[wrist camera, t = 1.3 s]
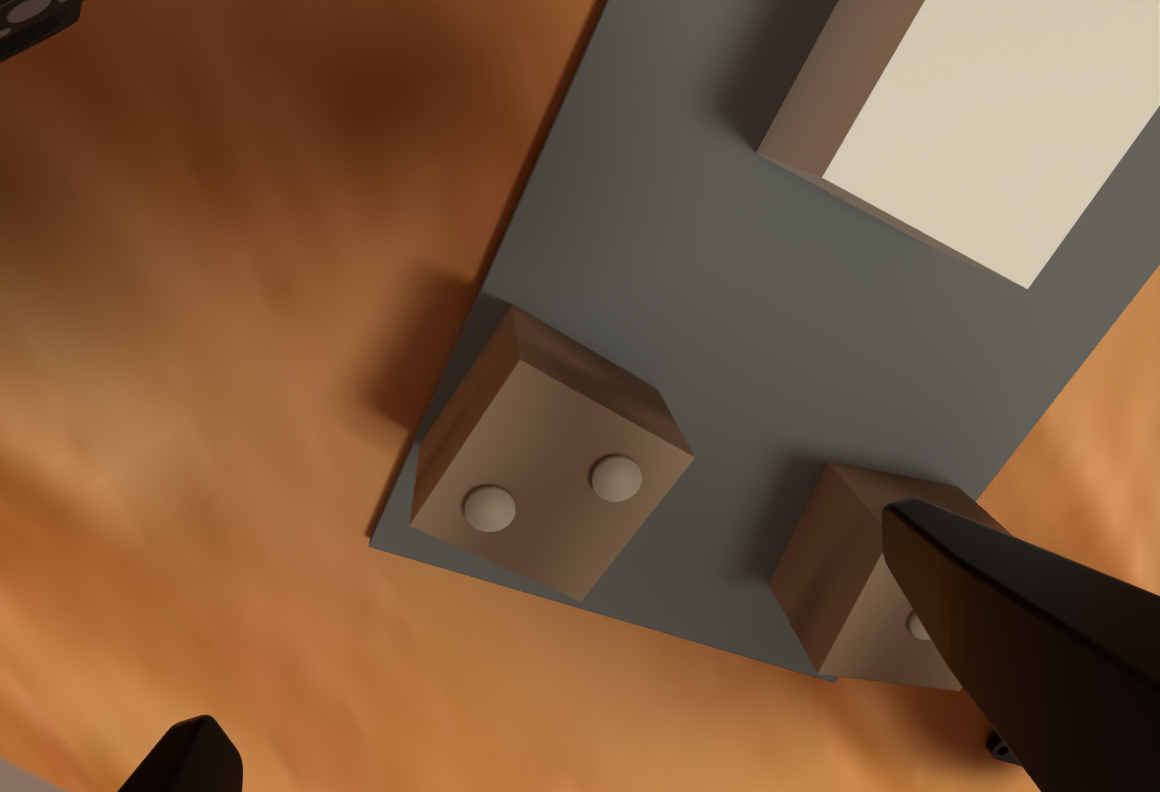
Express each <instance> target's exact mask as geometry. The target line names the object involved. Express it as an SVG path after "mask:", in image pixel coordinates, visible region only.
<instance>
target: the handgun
mask: <svg viewBox="0 0 1160 792" xmlns="http://www.w3.org/2000/svg"><path fill="white" fill-rule="evenodd" d="M82 1H83V0H0V62H2V61H4V60H6V59H8V58H10V57H12V56H14V55H16V54H18V53H20V52H22V51H24V50H26V49H28V48H30V47H32V46H34V45H36V44H38V43H40V42H42V41H44V40H46V39H47V38H49V37H51V36H53V35H55V34H57V33H59V32H61V31H62V30H64V29H65V28H67V27H68V26H70V25H72V24H73V23H75V22H76V21H78V18H79V16H80V9H81V5H82Z"/></svg>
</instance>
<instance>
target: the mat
mask: <svg viewBox="0 0 1160 792" xmlns="http://www.w3.org/2000/svg"><path fill="white" fill-rule="evenodd" d="M837 2H838V0H606V2H605V4H604V7H603V9H602V11H601V13H600V16H599V18H598V20H597V23H596V25H595V27H594V29H593V32H592V34H591V36H590V39H589V41H588V43H587V45H586V48H585V50H584V52H583V55H582V57H581V59H580V61H579V64H578V66H577V68H576V71H575V73H574V75H573V77H572V80H571V82H570V84H569V86H568V89H567V91H566V93H565V96H564V98H563V100H562V102H561V105H560V107H559V109H558V112H557V114H556V116H555V118H554V121H553V123H552V125H551V128H550V130H549V132H548V134H547V137H546V139H545V141H544V144H543V146H542V148H541V150H540V153H539V155H538V157H537V160H536V162H535V164H534V166H533V169H532V171H531V173H530V175H529V178H528V180H527V182H526V185H525V187H524V189H523V191H522V194H521V196H520V198H519V201H518V203H517V205H516V207H515V210H514V212H513V214H512V217H511V219H510V221H509V223H508V226H507V228H506V230H505V233H504V235H503V237H502V239H501V242H500V244H499V246H498V248H497V251H496V253H495V255H494V258H493V260H492V262H491V264H490V267H489V269H488V271H487V274H486V276H485V278H484V280H483V283H482V285H481V287H480V290H479V292H478V294H477V296H476V299H475V301H474V303H473V306H472V308H471V310H470V312H469V315H468V317H467V319H466V321H465V324H464V326H463V328H462V331H461V333H460V335H459V337H458V340H457V342H456V344H455V347H454V349H453V351H452V353H451V356H450V358H449V360H448V363H447V365H446V367H445V369H444V372H443V374H442V376H441V379H440V381H439V383H438V385H437V388H436V390H435V392H434V395H433V397H432V399H431V401H430V404H429V406H428V408H427V410H426V413H425V415H424V417H423V420H422V422H421V424H420V426H419V429H418V431H417V433H416V436H415V438H414V440H413V442H412V445H411V447H410V449H409V452H408V454H407V456H406V458H405V461H404V463H403V465H402V468H401V470H400V472H399V474H398V477H397V479H396V481H395V483H394V486H393V488H392V490H391V493H390V495H389V497H388V499H387V502H386V504H385V506H384V509H383V511H382V513H381V515H380V518H379V520H378V522H377V525H376V527H375V529H374V531H373V534H372V536H371V538H370V542H369V547H372V548H375V549H379V550H382V551H385V552H389V553H392V554H396V555H399V556H403V557H406V558H409V559H413V560H416V561H420V562H423V563H427V564H430V565H433V566H437V567H440V568H444V569H447V570H450V571H454V572H457V573H461V574H464V575H468V576H471V577H474V578H478V579H481V580H485V581H488V582H492V583H495V584H498V585H502V586H505V587H509V588H512V589H516V590H519V591H522V592H526V593H529V594H533V595H536V596H539V597H543V598H546V599H550V600H553V601H557V602H560V603H563V604H567V605H570V606H574V607H577V608H581V609H584V610H587V611H591V612H594V613H598V614H601V615H605V616H608V617H611V618H615V619H618V620H622V621H625V622H628V623H632V624H635V625H639V626H642V627H646V628H649V629H652V630H656V631H659V632H663V633H666V634H670V635H673V636H676V637H680V638H683V639H687V640H690V641H693V642H697V643H700V644H704V645H707V646H711V647H714V648H717V649H721V650H724V651H728V652H731V653H735V654H738V655H741V656H745V657H748V658H752V659H755V660H759V661H762V662H765V663H769V664H772V665H776V666H779V667H782V668H786V669H789V670H793V671H796V672H800V673H803V674H806V675H810V676H813V677H817V678H820V679H824V680H827V681H830V682H834V683H835V682H836V681H837V679H838V678H839V676H831V675H823V674H818V673H817V672H816V670H815V668H814V666H813V664H812V663H811V661H810V659H809V657H808V655H807V653H806V652H805V650H804V648H803V646H802V644H801V643H800V641H799V639H798V637H797V635H796V634H795V632H794V630H793V628H792V626H791V624H790V623H789V621H788V619H787V617H786V615H785V614H784V612H783V610H782V608H781V606H780V605H779V603H778V601H777V599H776V597H775V595H774V594H773V592H772V590H771V588H770V586H769V583H770V581H771V579H772V577H773V575H774V572H775V570H776V568H777V566H778V564H779V562H780V560H781V558H782V555H783V553H784V551H785V549H786V547H787V545H788V543H789V540H790V538H791V536H792V534H793V532H794V530H795V528H796V526H797V523H798V521H799V519H800V517H801V515H802V513H803V511H804V509H805V506H806V504H807V502H808V500H809V498H810V496H811V494H812V491H813V489H814V487H815V485H816V483H817V481H818V479H819V477H820V474H821V472H822V470H823V468H824V466H825V464H826V462H827V461H831V462H836V463H841V464H846V465H851V466H856V467H861V468H866V469H871V470H876V471H881V472H886V473H891V474H896V475H902V476H907V477H912V478H917V479H922V480H927V481H932V482H937V483H942V484H947V485H952V486H957V487H959V488H960V489H962V490H963V491H964V492H965V493H966V494H967V495H968V496H969V497H970V498H971V499H973V500H974V501H975V502H976V500H977V499H978V498H979V496H980V495H981V494H982V493H983V491H984V490H985V489H986V487H987V486H988V485H989V484H990V482H991V481H992V480H993V478H994V477H995V476H996V474H997V473H998V472H999V471H1000V469H1001V468H1002V467H1003V465H1004V464H1005V463H1006V462H1007V460H1008V459H1009V458H1010V456H1011V455H1012V454H1013V453H1014V451H1015V450H1016V449H1017V447H1018V446H1019V445H1020V444H1021V442H1022V441H1023V440H1024V438H1025V437H1026V436H1027V435H1028V433H1029V432H1030V431H1031V429H1032V428H1033V427H1034V426H1035V424H1036V423H1037V422H1038V420H1039V419H1040V418H1041V417H1042V415H1043V414H1044V413H1045V411H1046V410H1047V409H1048V408H1049V406H1050V405H1051V404H1052V402H1053V401H1054V400H1055V398H1056V397H1057V396H1058V395H1059V393H1060V392H1061V391H1062V389H1063V388H1064V387H1065V386H1066V384H1067V383H1068V382H1069V380H1070V379H1071V378H1072V377H1073V375H1074V374H1075V373H1076V371H1077V370H1078V369H1079V368H1080V366H1081V365H1082V364H1083V362H1084V361H1085V360H1086V359H1087V357H1088V356H1089V355H1090V353H1091V352H1092V351H1093V350H1094V348H1095V347H1096V346H1097V344H1098V343H1099V342H1100V341H1101V339H1102V338H1103V337H1104V335H1105V334H1106V333H1107V332H1108V330H1109V329H1110V328H1111V326H1112V325H1113V324H1114V322H1115V321H1116V320H1117V319H1118V317H1119V316H1120V315H1121V313H1122V312H1123V311H1124V310H1125V308H1126V307H1127V306H1128V304H1129V303H1130V302H1131V301H1132V299H1133V298H1134V297H1135V295H1136V294H1137V293H1138V292H1139V290H1140V289H1141V288H1142V286H1143V285H1144V284H1145V283H1146V281H1147V280H1148V279H1149V277H1150V276H1151V275H1152V274H1153V272H1154V271H1155V270H1156V268H1157V267H1158V266H1159V265H1160V106H1159V107H1158V109H1157V110H1156V111H1155V113H1154V114H1153V116H1152V117H1151V118H1150V120H1149V121H1148V123H1147V124H1146V125H1145V127H1144V128H1143V130H1142V131H1141V132H1140V134H1139V135H1138V136H1137V138H1136V139H1135V141H1134V142H1133V143H1132V145H1131V146H1130V148H1129V149H1128V150H1127V152H1126V153H1125V155H1124V156H1123V157H1122V159H1121V160H1120V162H1119V163H1118V164H1117V166H1116V167H1115V168H1114V170H1113V171H1112V173H1111V174H1110V175H1109V177H1108V178H1107V180H1106V181H1105V182H1104V184H1103V185H1102V187H1101V188H1100V189H1099V191H1098V192H1097V194H1096V195H1095V196H1094V198H1093V199H1092V200H1091V202H1090V203H1089V205H1088V206H1087V207H1086V209H1085V210H1084V212H1083V213H1082V214H1081V216H1080V217H1079V219H1078V220H1077V221H1076V223H1075V224H1074V226H1073V227H1072V228H1071V230H1070V231H1069V232H1068V234H1067V235H1066V237H1065V238H1064V239H1063V241H1062V242H1061V244H1060V245H1059V246H1058V248H1057V249H1056V251H1055V252H1054V253H1053V255H1052V256H1051V258H1050V259H1049V260H1048V262H1047V263H1046V264H1045V266H1044V267H1043V269H1042V270H1041V271H1040V273H1039V274H1038V276H1037V277H1036V278H1035V280H1034V281H1033V283H1032V284H1031V285H1030V287H1029V288H1028V289H1026V288H1023V287H1021V286H1019V285H1016V284H1014V283H1012V282H1010V281H1007V280H1005V279H1003V278H1000V277H998V276H996V275H993V274H991V273H989V272H986V271H984V270H982V269H980V268H977V267H975V266H973V265H970V264H968V263H966V262H963V261H961V260H959V259H956V258H954V257H952V256H950V255H947V254H945V253H943V252H940V251H938V250H936V249H933V248H931V247H929V246H927V245H926V244H924V243H922V242H920V241H918V240H916V239H914V238H913V237H911V236H909V235H907V234H905V233H903V232H901V231H900V230H898V229H896V228H894V227H892V226H890V225H888V224H887V223H885V222H883V221H881V220H879V219H877V218H875V217H874V216H872V215H870V214H868V213H866V212H864V211H862V210H861V209H859V208H857V207H855V206H853V205H851V204H849V203H848V202H846V201H844V200H842V199H840V198H838V197H836V196H835V195H833V194H831V193H829V192H827V191H825V190H823V189H822V188H820V187H818V186H816V185H814V184H812V183H810V182H809V181H807V180H805V179H803V178H801V177H799V176H797V175H796V174H794V173H792V172H790V171H788V170H786V169H784V168H783V167H781V166H779V165H777V164H775V163H773V162H771V161H770V160H768V159H766V158H764V157H762V156H760V155H758V154H757V153H756V152H757V150H758V148H759V146H760V144H761V143H762V141H763V139H764V137H765V135H766V133H767V131H768V130H769V128H770V126H771V124H772V122H773V120H774V119H775V117H776V115H777V113H778V111H779V109H780V107H781V106H782V104H783V102H784V100H785V98H786V96H787V95H788V93H789V91H790V89H791V87H792V85H793V84H794V82H795V80H796V78H797V76H798V74H799V72H800V71H801V69H802V67H803V65H804V63H805V61H806V60H807V58H808V56H809V54H810V52H811V50H812V48H813V47H814V45H815V43H816V41H817V39H818V37H819V36H820V34H821V32H822V30H823V28H824V26H825V24H826V23H827V21H828V19H829V17H830V15H831V13H832V12H833V10H834V8H835V6H836V4H837ZM511 303H512V304H514V305H516V306H517V307H519V308H521V309H522V310H524V311H526V312H527V313H529V314H531V315H533V316H534V317H536V318H538V319H539V320H541V321H543V322H545V323H546V324H548V325H550V326H551V327H553V328H555V329H556V330H558V331H560V332H562V333H563V334H565V335H567V336H568V337H570V338H572V339H574V340H575V341H577V342H579V343H580V344H582V345H584V346H585V347H587V348H589V349H591V350H592V351H594V352H596V353H597V354H599V355H601V356H602V357H604V358H606V359H608V360H609V361H611V362H613V363H614V364H616V365H618V366H620V367H621V368H623V369H625V370H626V371H628V372H630V373H631V374H633V375H635V376H637V377H638V378H640V379H642V380H643V381H645V382H647V383H648V384H650V385H652V386H654V387H655V388H657V389H658V390H659V392H660V394H661V396H662V397H663V399H664V401H665V403H666V405H667V407H668V408H669V410H670V412H671V414H672V416H673V418H674V420H675V421H676V423H677V425H678V427H679V429H680V431H681V432H682V434H683V436H684V438H685V440H686V442H687V443H688V445H689V447H690V449H691V451H692V453H693V454H694V456H695V458H694V460H693V461H692V462H691V463H690V465H689V466H688V467H687V468H686V470H685V471H684V472H683V474H682V475H681V476H680V477H679V479H678V480H677V481H676V482H675V484H674V485H673V486H672V487H671V489H670V490H669V491H668V492H667V494H666V495H665V496H664V498H663V499H662V500H661V501H660V503H659V504H658V505H657V506H656V508H655V509H654V510H653V511H652V513H651V514H650V515H649V517H648V518H647V519H646V520H645V522H644V523H643V524H642V525H641V527H640V528H639V529H638V530H637V532H636V533H635V534H634V535H633V537H632V538H631V539H630V541H629V542H628V543H627V544H626V546H625V547H624V548H623V549H622V551H621V552H620V553H619V554H618V556H617V557H616V558H615V559H614V561H613V562H612V563H611V565H610V566H609V567H608V568H607V570H606V571H605V572H604V573H603V575H602V576H601V577H600V578H599V580H598V581H597V582H596V583H595V585H594V586H593V587H592V589H591V590H590V591H589V592H588V594H587V595H586V596H585V597H584V599H583V600H582V601H581V602H580V601H578V600H576V599H573V598H571V597H569V596H567V595H564V594H562V593H560V592H558V591H555V590H553V589H551V588H549V587H546V586H544V585H542V584H540V583H537V582H535V581H533V580H530V579H528V578H526V577H524V576H521V575H519V574H517V573H515V572H512V571H510V570H508V569H506V568H503V567H501V566H499V565H497V564H494V563H492V562H490V561H488V560H485V559H483V558H481V557H479V556H476V555H474V554H472V553H470V552H467V551H465V550H463V549H460V548H458V547H456V546H454V545H451V544H449V543H447V542H445V541H442V540H440V539H438V538H436V537H433V536H431V535H429V534H427V533H424V532H422V531H420V530H418V529H415V528H413V527H411V526H409V524H410V516H411V509H412V501H413V494H414V486H415V479H416V471H417V464H418V456H419V449H420V444H421V443H422V441H423V440H424V438H425V436H426V435H427V433H428V432H429V430H430V429H431V427H432V426H433V424H434V422H435V421H436V419H437V418H438V416H439V415H440V413H441V412H442V410H443V409H444V407H445V405H446V404H447V402H448V401H449V399H450V398H451V396H452V395H453V393H454V391H455V390H456V388H457V387H458V385H459V384H460V382H461V381H462V379H463V377H464V376H465V374H466V373H467V371H468V370H469V368H470V367H471V365H472V363H473V362H474V360H475V359H476V357H477V356H478V354H479V353H480V351H481V350H482V348H483V346H484V345H485V343H486V342H487V340H488V339H489V337H490V336H491V334H492V332H493V331H494V329H495V328H496V326H497V325H498V323H499V322H500V320H501V318H502V317H503V315H504V314H505V312H506V311H507V309H508V308H509V306H510V304H511Z"/></svg>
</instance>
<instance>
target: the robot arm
mask: <svg viewBox="0 0 1160 792" xmlns="http://www.w3.org/2000/svg"><path fill="white" fill-rule="evenodd" d="M882 550H883V556H884V559H885V562H886V564H887V567H888V568H889V570H890V572H891V574H892V575H893V577H894V579H895V580H896V582H897V584H898V585H899V587H900V589H901V590H902V592H903V594H904V595H905V597H906V599H907V600H908V602H909V604H910V605H911V607H912V609H913V610H914V612H915V614H916V615H917V617H918V619H919V620H920V622H921V624H922V625H923V627H924V629H925V630H926V632H927V634H928V635H929V637H930V639H931V640H932V642H933V644H934V645H935V647H936V649H937V650H938V652H939V654H940V655H941V657H942V658H943V660H944V662H945V663H946V665H947V666H948V668H949V669H950V671H951V672H952V673H953V675H954V676H955V678H956V679H957V680H958V682H959V683H960V684H961V686H962V687H963V688H964V690H965V691H966V692H967V694H968V695H969V696H970V698H971V699H972V700H973V702H974V703H975V704H976V706H977V707H978V708H979V710H980V711H981V712H982V714H983V715H984V716H985V718H986V719H987V720H988V722H989V723H990V724H991V726H992V727H993V728H994V730H995V731H996V732H995V733H994V734H993V736H992V737H991V738H990V739H989V740H988V741H987V743H986V748H987V750H988V751H989V753H990V754H991V755H992V757H993V758H995V759H998V760H1001V761H1005V762H1009V763H1012V764H1016V765H1020V766H1022V767H1023V768H1024V769H1025V771H1026V772H1027V773H1028V775H1029V776H1030V777H1031V779H1032V780H1033V781H1034V783H1035V784H1036V785H1037V787H1038V788H1039V789H1040V791H1041V792H1160V596H1158V595H1156V594H1153V593H1151V592H1148V591H1146V590H1144V589H1141V588H1139V587H1136V586H1134V585H1131V584H1129V583H1126V582H1124V581H1121V580H1119V579H1117V578H1114V577H1112V576H1109V575H1107V574H1104V573H1102V572H1099V571H1097V570H1094V569H1092V568H1089V567H1087V566H1085V565H1082V564H1080V563H1077V562H1075V561H1072V560H1070V559H1067V558H1065V557H1062V556H1060V555H1058V554H1055V553H1053V552H1050V551H1048V550H1045V549H1043V548H1040V547H1038V546H1035V545H1033V544H1030V543H1028V542H1026V541H1023V540H1021V539H1018V538H1016V537H1013V536H1011V535H1008V534H1006V533H1003V532H1001V531H999V530H996V529H994V528H991V527H989V526H986V525H984V524H981V523H979V522H976V521H974V520H971V519H969V518H967V517H964V516H962V515H959V514H957V513H954V512H952V511H949V510H947V509H944V508H942V507H940V506H937V505H935V504H932V503H930V502H927V501H925V500H922V499H920V498H916V497H908V498H905V499H901V500H898V501H895V502H891V503H888V504H887V505H885V506H884V507H883V510H882ZM242 783H243V765H242V759H241V756H240V754H239V752H238V750H237V748H236V747H235V746H234V744H233V743H232V742H231V740H230V739H229V738H228V736H227V735H226V734H225V732H224V731H223V729H222V728H221V727H220V725H219V724H218V723H217V721H216V720H215V719H214V718H213V717H211V716H209V715H200V716H197V717H194V718H191V719H187V720H184V721H181V722H178V723H176V724H174V725H173V726H172V727H171V728H170V729H169V730H168V731H167V732H166V733H165V735H164V736H163V737H162V738H161V739H160V741H159V742H158V743H157V744H156V745H155V747H154V748H153V749H152V750H151V752H150V753H149V754H148V755H147V756H146V758H145V759H144V760H143V761H142V762H141V764H140V765H139V766H138V767H137V768H136V770H135V771H134V772H133V773H132V775H131V776H130V777H129V778H128V779H127V781H126V782H125V783H124V784H123V785H122V787H121V788H120V789H119V790H118V791H117V792H242Z"/></svg>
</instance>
